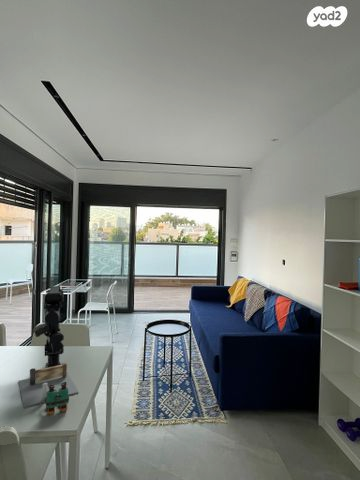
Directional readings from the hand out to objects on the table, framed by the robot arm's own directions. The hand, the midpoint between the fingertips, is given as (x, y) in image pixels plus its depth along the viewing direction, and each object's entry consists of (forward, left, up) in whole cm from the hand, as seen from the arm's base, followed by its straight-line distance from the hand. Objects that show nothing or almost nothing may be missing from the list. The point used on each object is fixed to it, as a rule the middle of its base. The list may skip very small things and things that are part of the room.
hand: (52, 350), depth 140 cm
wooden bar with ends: (+4, -2, -12) cm, 13 cm away
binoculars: (+27, -3, -13) cm, 31 cm away
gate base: (+9, -4, -13) cm, 16 cm away
